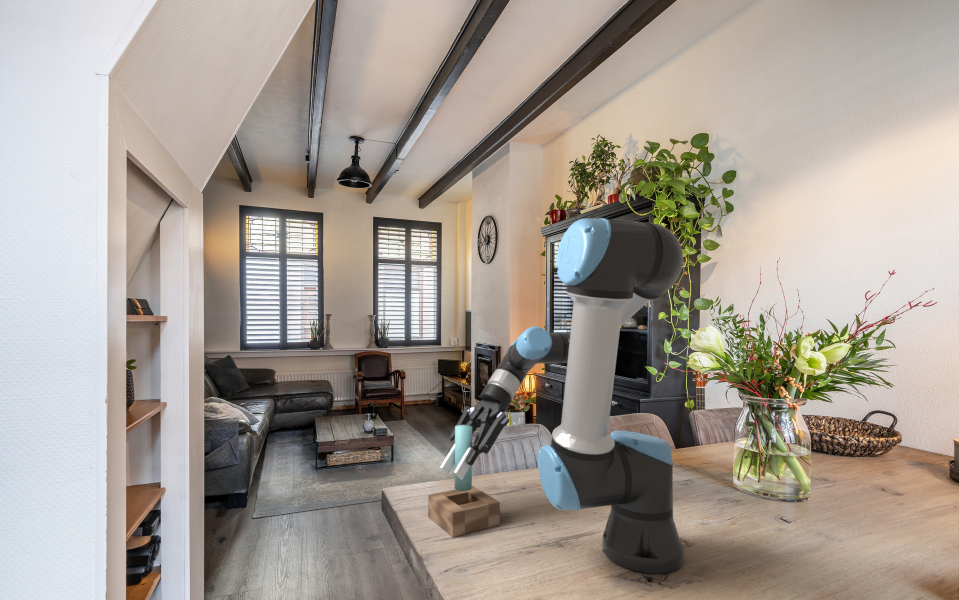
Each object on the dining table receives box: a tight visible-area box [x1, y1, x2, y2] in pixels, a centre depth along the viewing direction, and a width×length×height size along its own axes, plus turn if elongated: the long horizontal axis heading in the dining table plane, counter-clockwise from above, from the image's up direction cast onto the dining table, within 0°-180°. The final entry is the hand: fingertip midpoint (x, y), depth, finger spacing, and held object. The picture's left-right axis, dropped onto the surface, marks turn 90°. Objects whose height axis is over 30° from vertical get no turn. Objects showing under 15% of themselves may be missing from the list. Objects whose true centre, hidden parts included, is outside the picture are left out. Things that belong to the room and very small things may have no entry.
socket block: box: [427, 485, 501, 538], centre depth 105 cm, size 12×12×5 cm
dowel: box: [454, 425, 473, 491], centre depth 107 cm, size 4×4×14 cm
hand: (451, 473), depth 104 cm, fingers closed on dowel, 4 cm apart
